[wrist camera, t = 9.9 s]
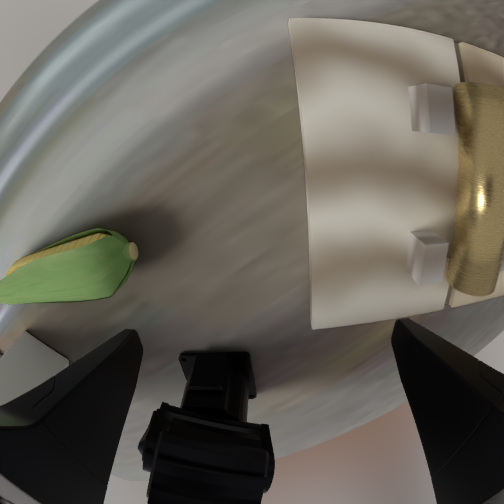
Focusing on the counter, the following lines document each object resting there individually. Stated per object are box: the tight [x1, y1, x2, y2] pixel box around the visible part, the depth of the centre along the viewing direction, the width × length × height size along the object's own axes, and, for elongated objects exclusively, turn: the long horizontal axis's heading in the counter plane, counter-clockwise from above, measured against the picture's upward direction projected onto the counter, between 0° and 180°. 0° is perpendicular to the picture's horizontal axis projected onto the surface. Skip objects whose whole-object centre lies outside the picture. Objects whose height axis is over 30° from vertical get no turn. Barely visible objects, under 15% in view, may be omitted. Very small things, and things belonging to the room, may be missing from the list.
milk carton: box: [0, 330, 69, 406], centre depth 19 cm, size 7×7×19 cm
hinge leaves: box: [288, 18, 504, 330], centre depth 16 cm, size 22×25×4 cm
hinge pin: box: [446, 82, 504, 297], centre depth 14 cm, size 14×4×4 cm, turn 6°
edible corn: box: [0, 228, 138, 305], centre depth 20 cm, size 5×20×5 cm
